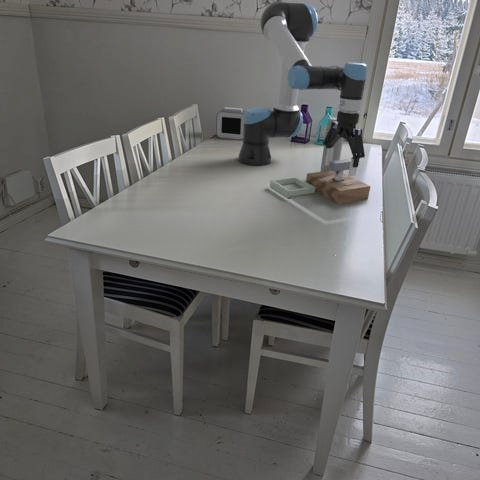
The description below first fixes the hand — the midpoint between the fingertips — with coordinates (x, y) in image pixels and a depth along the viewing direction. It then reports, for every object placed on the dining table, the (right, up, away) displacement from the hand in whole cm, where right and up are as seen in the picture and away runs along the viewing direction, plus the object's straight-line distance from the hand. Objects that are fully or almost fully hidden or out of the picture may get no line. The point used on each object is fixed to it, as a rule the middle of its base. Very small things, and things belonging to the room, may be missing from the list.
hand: (339, 170), depth 155 cm
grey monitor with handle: (-41, +32, +79) cm, 95 cm away
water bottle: (0, 0, +21) cm, 21 cm away
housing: (-1, -9, +5) cm, 10 cm away
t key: (0, -8, +4) cm, 9 cm away
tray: (-17, -7, +6) cm, 19 cm away
